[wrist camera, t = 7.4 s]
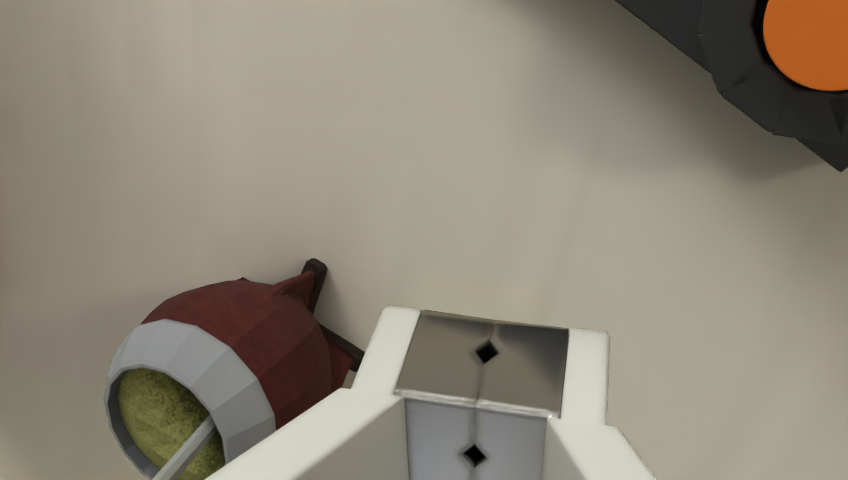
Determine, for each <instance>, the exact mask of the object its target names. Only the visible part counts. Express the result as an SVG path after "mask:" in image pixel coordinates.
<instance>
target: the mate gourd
mask: <svg viewBox="0 0 848 480" xmlns="http://www.w3.org/2000/svg"><path fill="white" fill-rule="evenodd" d="M326 272H327V267H326V265H325V264H324V263H322V262H320V261H319V260H317V259H313V258H311V259H310V260H308V261H307V262H306V264H305V266H304V268H303V270H302V273H301V275H299V276H296V277H293V278H290V279H287V280H284V281H282V282H279V283H277V284H275V285H269V284H263V283H257V282H251V281H249V280H247V279H245V278H243V277H242V278H241V279H238V280H235V281H225V282H220V283H216V284H211V285H207V286H204V287H200V288H197V289H193V290H190V291H187V292H183V293H181V294H179V295H176V296H174V297H172V298H169V299H167V300H165V301H164V302H163V303H162V304H160V305H159V306H158V307H156V308H155V309H154V310H153V311H152V312H151V313H150V314H149V315H148V316H147V317H146V318H145V319H144V321H143V322H142V323H141V324H140V325H138V326H137V327H135V329H134V330H133V331H132V332H131V333H130V334H129V335H128V337H127V338H126V339H125V340H124V341H123V342H122V343H121V344H120V346H119V347H118V348H117V350H116V353H115V355H114V357H113V360H112V362H111V366H110V370H109V374H108V379H107V384H106V390H105V395H104V403H105V408H106V413H107V417H108V422H109V427H110V429H111V431H112V433H113V435H114V437H115V438H116V440H117V442H118V444H119V446H120V448H121V450H122V452H123V453H124V454H125V455H126V456H127V457H128V459H129V460H130V461H131V462H132V463H133V464H134V465H135V467H136V468H137V469H138V470H139V471H140V472H141V473H142V474H143V475H144V476H146V477H147V478H149V479H150V480H205V479H206V478H207V477H209V476H210V475H212V474H213V473H215V472H216V471H218V470H219V469H221V468H222V467H224V466H225V465H227V464H228V463H230V462H231V461H233V460H234V459H236V458H237V457H239V456H240V455H241V454H243V453H244V452H246V451H247V450H249V449H250V448H252V447H253V446H255V445H256V444H258V443H259V442H261V441H262V440H264V439H265V438H267V437H268V436H270V435H271V434H273V433H274V432H275V431H277V430H278V429H280V428H281V427H283V426H284V425H286V424H287V423H289V422H290V421H292V420H293V419H295V418H296V417H298V416H299V415H301V414H302V413H304V412H305V411H307V410H308V409H309V408H311V407H312V406H314V405H315V404H317V403H318V402H320V401H321V400H323V399H324V398H326V397H327V396H329V395H330V394H332V393H333V392H335V391H336V390H338V389H339V388H342V385H343V383H344V380H345V377H346V375H347V373H348V371H349V369H350V370H352V371H354V372H356V371H358V370H359V367H360V365H361V362H362V360H363V357H364V355H365V353H364V352H363V351H362V350H360V349H359V348H357V347H356V346H354V345H353V344H351V343H350V342H348V341H346V340H345V339H343V338H341V337H340V336H338V335H337V334H335V333H333V332H332V331H330V330H329V329H327V328H325V327H324V326H322V325H321V324H319V323H318V321H317V319H316V318H315V317H314V316H313V312H314V309H315V305H316V302H317V299H318V297H319V294H320V291H321V288H322V285H323V282H324V279H325V276H326Z"/></svg>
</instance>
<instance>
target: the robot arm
mask: <svg viewBox="0 0 848 480" xmlns="http://www.w3.org/2000/svg"><path fill="white" fill-rule="evenodd" d="M568 331H569V334H568ZM609 354H610V336H609V333H608V332H607V331H597V330H587V329H578V328H570V330H569V328H562V327H554V326H545V325H536V324H527V323H518V322H510V321H501V320H492V319H485V318H479V317H472V316H465V315H458V314H451V313H444V312H437V311H430V310H418V309H411V308H404V307H398V306H391V305H387V307H386V308H385V309H384V310H383V311H382V312H381V314H380V317H379V319H378V322H377V324H376V327H375V329H374V332H373V334H372V337H371V339H370V342H369V344H368V347H367V349H366V352H365V355H364V357H363V360H362V362H361V365H360V367H359V370H358V372H357V375H356V377H355V380H354V382H353V385H352V387H351V389H346V388H339V389H338V390H336V391H335V392H333V393H332V394H330V395H329V396H327V397H326V398H324V399H323V400H321V401H320V402H318V403H317V404H315V405H314V406H312V407H311V408H309V409H308V410H307V411H305V412H304V413H302V414H301V415H299V416H298V417H296V418H295V419H293V420H292V421H290V422H289V423H287V424H286V425H284V426H283V427H281V428H280V429H278V430H277V431H275V432H274V433H273V434H271V435H270V436H268V437H267V438H265V439H264V440H262V441H261V442H259V443H258V444H256V445H255V446H253V447H252V448H250V449H249V450H247V451H246V452H244V453H243V454H241V455H240V456H239V457H237V458H236V459H234V460H233V461H231V462H230V463H228V464H227V465H225V466H224V467H222V468H221V469H219V470H218V471H216V472H215V473H213V474H212V475H210V476H209V477H207V478H206V479H205V480H657V479H656V477H655V476H654V475H653V473H652V472H651V470H650V469H649V468H648V466H647V465H646V464H645V462H644V461H643V460H642V458H641V457H640V456H639V454H638V453H637V452H636V450H635V449H634V447H633V446H632V445H631V443H630V442H629V441H628V439H627V438H626V437H625V435H624V434H623V433H622V431H621V430H620V428H618V427H612V426H607V410H608V382H609Z"/></svg>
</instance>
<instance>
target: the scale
mask: <svg viewBox="0 0 848 480" xmlns="http://www.w3.org/2000/svg"><path fill="white" fill-rule="evenodd" d="M615 1H616V2H618V3H619V4H620V5H622V6H623V7H624V8H625V9H627V10H628V11H629V12H631V13H632V14H633V15H635V16H636V17H637V18H639V19H640V20H641V21H642V22H644V23H645V24H646V25H648V26H649V27H650V28H652V29H653V30H654V31H656V32H657V33H658V34H659V35H661V36H662V37H663V38H665V39H666V40H667V41H669V42H670V43H671V44H673V45H674V46H675V47H677V48H678V49H679V50H680V51H682V52H683V53H684V54H686V55H687V56H688V57H690V58H691V59H692V60H694V61H695V62H696V63H697V64H699V65H700V66H701V67H703V68H704V69H705V70H707V71H708V72H709V73H711V75H712V77H713V80H714V83H715V85H716V88H717V91H718V92H719V93H721V95H722V97H723V98H724V99H726V100H727V101H728V102H730V103H731V104H732V105H734V106H735V107H736V108H737V109H739V110H740V111H741V112H743V113H744V114H745V115H747V116H748V117H749V118H751V119H752V120H753V121H754V122H756V123H757V124H758V125H760V126H761V127H762V128H764V129H765V130H766V131H767V132H772V134H773V135H778V136H785V137H792V138H796V139H797V140H798V141H800V142H801V143H802V144H804V145H805V146H806V147H807V148H809V149H810V150H811V151H813V152H814V153H815V154H817V155H818V156H819V157H821V158H822V159H823V160H824V161H826V162H827V163H828V164H830V165H831V166H832V167H834V168H835V169H836V170H838V171H839V172H842V171H844V170H845V169H846V168H847V167H848V90H842V91H822V90H817V89H812V88H809V87H806V86H803V85H801V84H798V83H796V82H794V81H793V80H791V79H790V78H788V77H787V76H786V75H785V74H783V73H782V72H781V71H780V70H779V69H778V67H777V66H776V65H775V64H774V62H773V61H772V59H771V57H770V55H769V53H768V51H767V48H766V45H765V41H764V35H763V21H764V14H765V11H766V7H767V4H768V1H769V0H615Z"/></svg>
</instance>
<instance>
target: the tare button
mask: <svg viewBox="0 0 848 480" xmlns="http://www.w3.org/2000/svg"><path fill="white" fill-rule="evenodd" d="M763 35H764V41H765V45H766V48H767V51H768V53H769V55H770V57H771V59H772V61H773V62H774V64H775V65H776V66H777V67H778V69H779V70H780V71H781V72H782V73H783V74H785V75H786V76H787V77H788V78H790V79H791V80H793V81H794V82H796V83H798V84H801V85H803V86H806V87H809V88H812V89H817V90H822V91H842V90H848V0H769V1H768V4H767V7H766V11H765V14H764V21H763Z"/></svg>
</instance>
